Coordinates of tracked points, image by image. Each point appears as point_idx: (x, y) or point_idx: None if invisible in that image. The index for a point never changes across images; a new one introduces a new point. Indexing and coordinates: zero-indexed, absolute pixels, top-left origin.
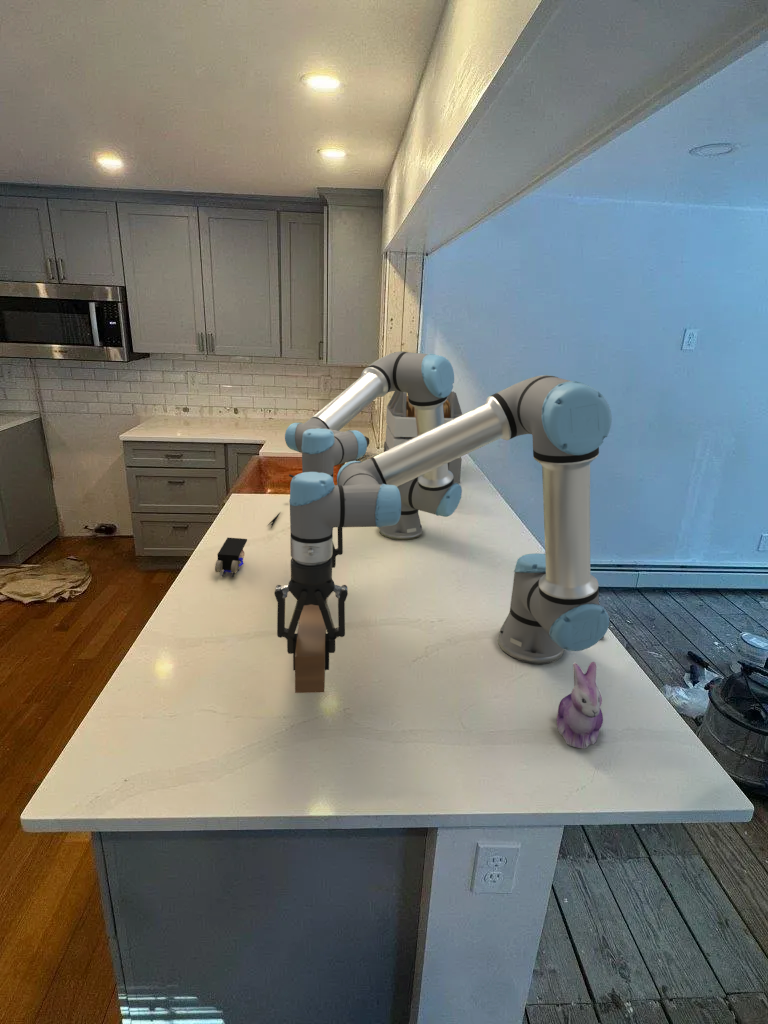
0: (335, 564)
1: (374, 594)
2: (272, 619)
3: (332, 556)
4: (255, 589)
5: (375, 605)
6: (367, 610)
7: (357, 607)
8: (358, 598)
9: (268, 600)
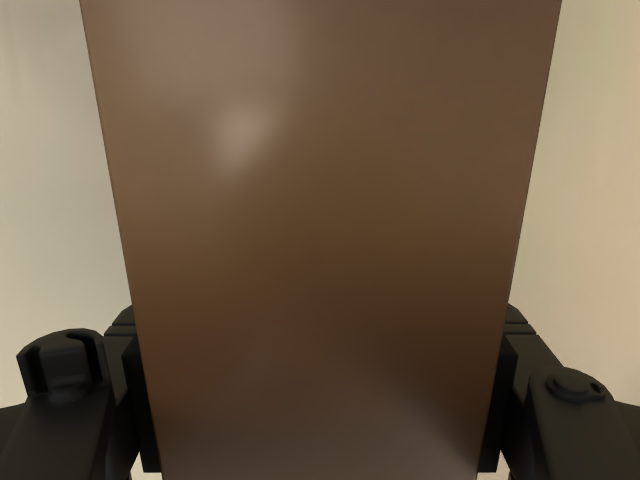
0: (114, 320)
1: (34, 316)
2: (572, 56)
3: (74, 347)
4: (625, 361)
5: (8, 208)
6: (42, 155)
7: (102, 188)
8: (110, 278)
9: (573, 260)
